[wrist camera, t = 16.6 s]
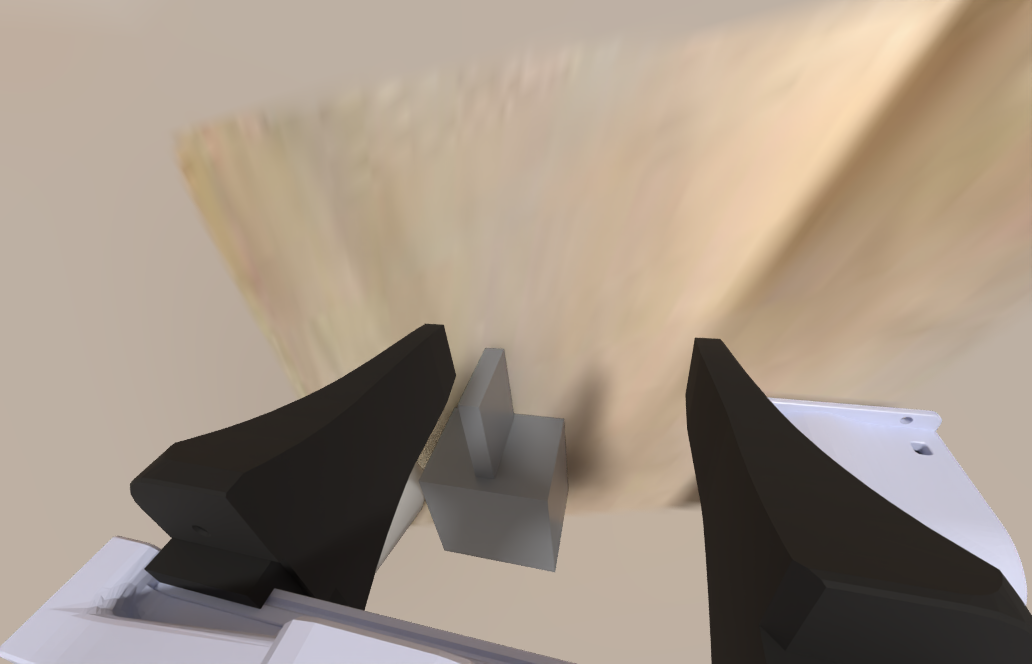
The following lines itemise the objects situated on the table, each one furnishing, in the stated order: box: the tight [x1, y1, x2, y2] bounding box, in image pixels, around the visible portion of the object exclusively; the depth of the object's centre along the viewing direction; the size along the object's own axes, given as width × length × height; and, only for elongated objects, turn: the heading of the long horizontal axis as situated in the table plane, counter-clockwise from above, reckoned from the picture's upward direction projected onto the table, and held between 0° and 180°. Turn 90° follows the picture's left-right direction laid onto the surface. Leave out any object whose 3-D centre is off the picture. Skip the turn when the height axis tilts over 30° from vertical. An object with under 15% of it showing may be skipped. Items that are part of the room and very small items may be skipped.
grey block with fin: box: [419, 348, 568, 572], centre depth 28 cm, size 14×8×6 cm, turn 5°
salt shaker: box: [375, 462, 425, 573], centre depth 32 cm, size 6×6×13 cm
